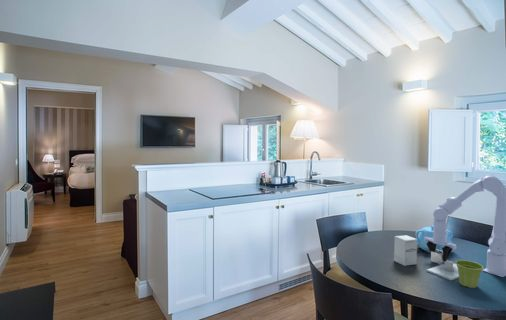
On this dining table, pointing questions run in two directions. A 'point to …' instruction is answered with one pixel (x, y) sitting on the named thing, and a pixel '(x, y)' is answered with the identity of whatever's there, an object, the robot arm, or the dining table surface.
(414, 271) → the dining table surface
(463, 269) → the plant pot
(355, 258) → the dining table surface
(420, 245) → the decorative pot
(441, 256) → the white boxy piece
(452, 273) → the duct plate
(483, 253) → the dining table surface
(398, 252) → the supplement box
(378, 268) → the dining table surface
